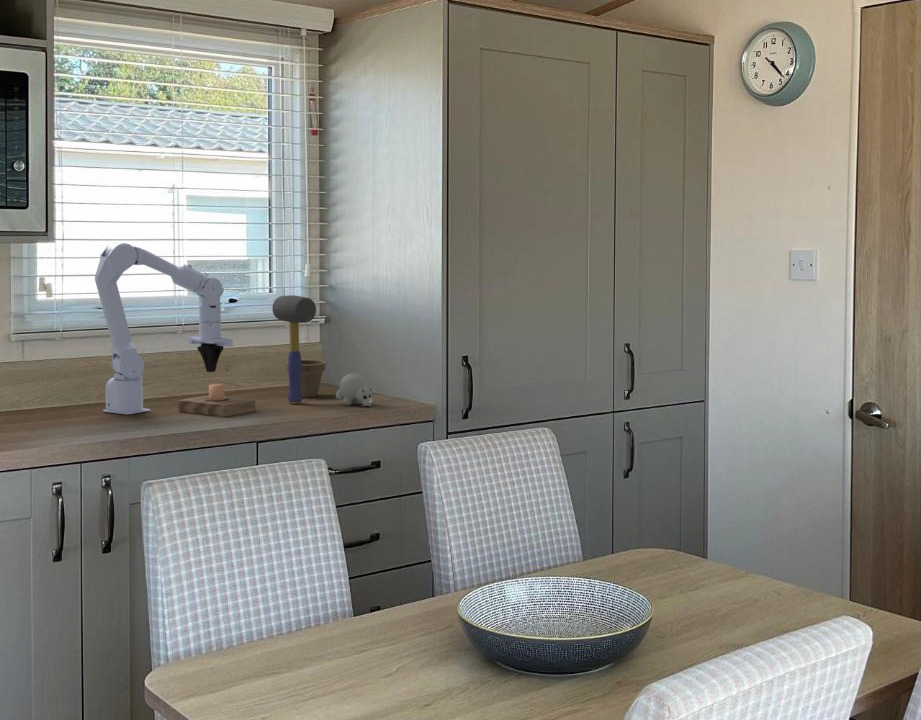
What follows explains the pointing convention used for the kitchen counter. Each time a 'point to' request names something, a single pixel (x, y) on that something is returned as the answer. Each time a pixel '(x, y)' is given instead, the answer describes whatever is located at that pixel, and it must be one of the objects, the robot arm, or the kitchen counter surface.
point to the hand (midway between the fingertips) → (210, 371)
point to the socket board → (217, 406)
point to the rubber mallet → (294, 336)
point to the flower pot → (310, 376)
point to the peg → (216, 392)
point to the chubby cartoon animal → (354, 391)
